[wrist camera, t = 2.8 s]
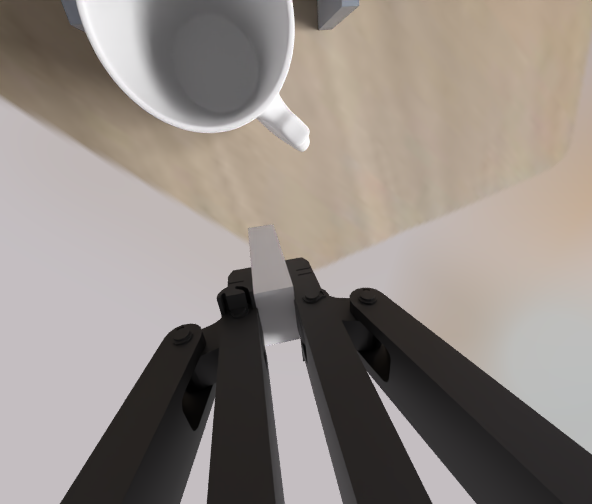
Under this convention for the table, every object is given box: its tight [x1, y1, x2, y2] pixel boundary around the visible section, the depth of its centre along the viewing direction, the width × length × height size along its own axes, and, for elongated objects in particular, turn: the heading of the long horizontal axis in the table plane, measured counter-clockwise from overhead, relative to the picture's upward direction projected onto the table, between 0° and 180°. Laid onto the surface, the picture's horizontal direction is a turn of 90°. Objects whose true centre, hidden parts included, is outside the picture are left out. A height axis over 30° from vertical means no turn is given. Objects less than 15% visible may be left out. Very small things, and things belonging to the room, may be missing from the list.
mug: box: [76, 0, 310, 151], centre depth 15 cm, size 10×7×12 cm, turn 46°
